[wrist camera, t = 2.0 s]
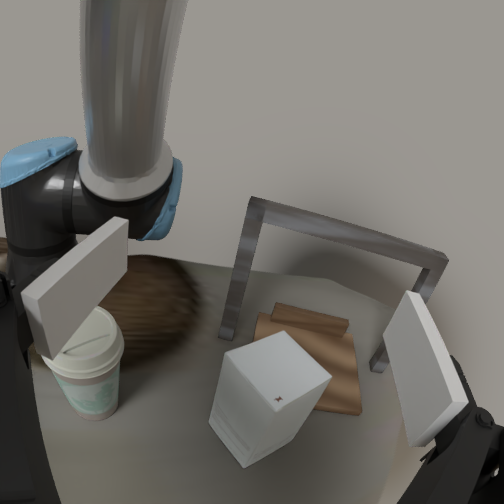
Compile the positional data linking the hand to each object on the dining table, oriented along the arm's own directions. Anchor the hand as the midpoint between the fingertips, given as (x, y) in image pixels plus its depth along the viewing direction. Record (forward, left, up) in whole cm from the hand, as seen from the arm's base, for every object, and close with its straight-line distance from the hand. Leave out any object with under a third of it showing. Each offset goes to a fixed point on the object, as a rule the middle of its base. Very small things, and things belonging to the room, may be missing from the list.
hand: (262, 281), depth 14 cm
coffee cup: (-12, -10, -26) cm, 30 cm away
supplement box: (-5, +7, -26) cm, 27 cm away
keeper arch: (-13, +19, -26) cm, 35 cm away
